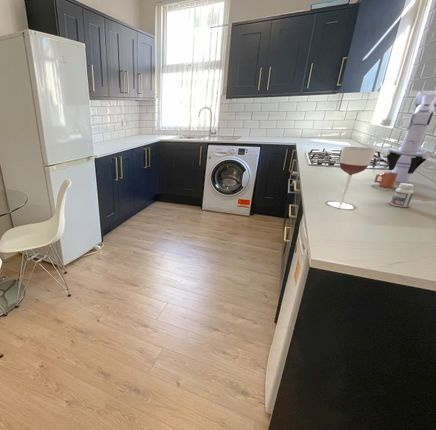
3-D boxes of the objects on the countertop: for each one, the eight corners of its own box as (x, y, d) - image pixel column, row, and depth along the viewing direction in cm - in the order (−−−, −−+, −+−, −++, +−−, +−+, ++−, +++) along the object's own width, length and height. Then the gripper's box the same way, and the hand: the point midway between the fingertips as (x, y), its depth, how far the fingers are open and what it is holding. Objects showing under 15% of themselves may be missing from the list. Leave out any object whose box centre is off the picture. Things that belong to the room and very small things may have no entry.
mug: (390, 185, 138) (395, 172, 136) (395, 188, 133) (401, 174, 131) (370, 183, 141) (374, 170, 138) (375, 186, 136) (380, 173, 133)
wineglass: (361, 210, 109) (382, 150, 101) (332, 208, 111) (350, 150, 102) (347, 202, 118) (366, 147, 109) (321, 200, 119) (337, 146, 111)
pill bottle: (400, 203, 117) (408, 182, 113) (411, 207, 112) (420, 186, 108) (386, 202, 117) (394, 182, 114) (397, 207, 112) (405, 185, 109)
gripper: (387, 139, 128) (376, 168, 134) (425, 143, 115) (412, 175, 120) (398, 139, 130) (388, 167, 135) (438, 143, 117) (424, 174, 122)
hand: (400, 171), depth 128 cm, fingers open, 7 cm apart
